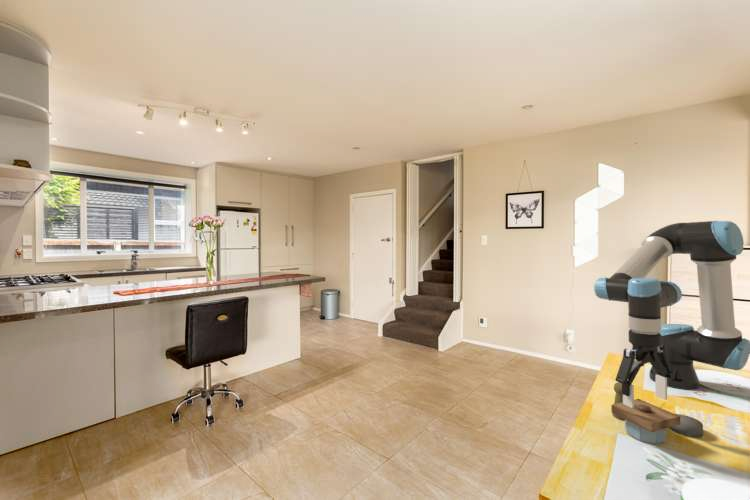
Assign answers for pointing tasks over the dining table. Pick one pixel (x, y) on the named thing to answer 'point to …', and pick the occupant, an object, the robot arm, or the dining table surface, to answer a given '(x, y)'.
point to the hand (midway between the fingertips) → (645, 401)
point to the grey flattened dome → (688, 427)
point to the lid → (646, 415)
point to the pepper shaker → (618, 397)
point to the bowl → (645, 434)
